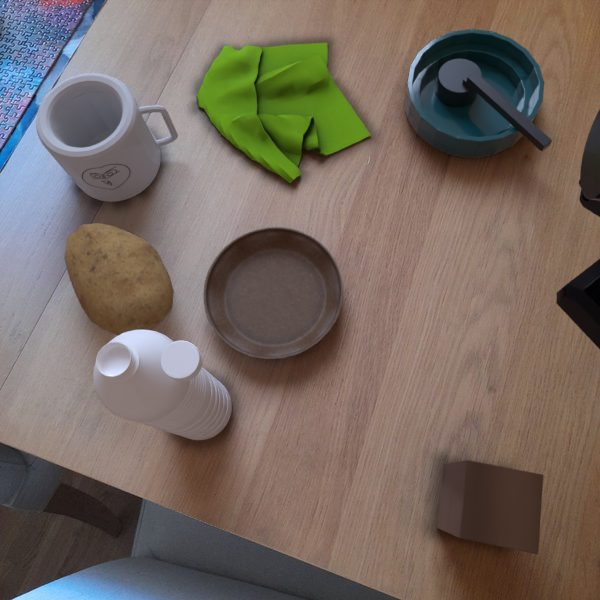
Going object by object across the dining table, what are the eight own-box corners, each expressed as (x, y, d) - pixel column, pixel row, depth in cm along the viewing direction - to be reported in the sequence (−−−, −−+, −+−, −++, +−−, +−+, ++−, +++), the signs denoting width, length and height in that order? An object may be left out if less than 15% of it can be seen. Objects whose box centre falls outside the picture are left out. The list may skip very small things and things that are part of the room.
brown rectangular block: (505, 475, 55) (543, 474, 45) (500, 541, 54) (538, 554, 44) (443, 463, 56) (467, 459, 46) (436, 527, 54) (459, 538, 44)
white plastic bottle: (168, 440, 58) (53, 410, 34) (173, 377, 60) (69, 308, 36) (252, 441, 58) (195, 412, 34) (255, 378, 60) (203, 308, 36)
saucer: (199, 250, 64) (194, 240, 62) (327, 224, 65) (327, 214, 62) (219, 376, 60) (213, 372, 57) (355, 348, 60) (356, 342, 57)
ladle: (426, 87, 69) (431, 64, 65) (458, 65, 69) (464, 41, 66) (520, 175, 64) (530, 156, 60) (553, 151, 64) (565, 130, 61)
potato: (130, 222, 66) (103, 188, 58) (204, 307, 62) (187, 283, 55) (62, 275, 64) (25, 248, 57) (134, 366, 61) (106, 349, 53)
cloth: (207, 39, 74) (203, 24, 71) (377, 45, 72) (378, 31, 69) (182, 178, 67) (177, 167, 65) (367, 188, 66) (368, 178, 63)
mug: (79, 212, 67) (37, 168, 57) (70, 136, 70) (29, 82, 61) (191, 187, 67) (167, 138, 57) (177, 112, 70) (153, 54, 61)
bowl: (536, 61, 70) (548, 37, 66) (527, 168, 65) (539, 149, 61) (412, 47, 71) (417, 22, 68) (395, 150, 67) (399, 131, 63)
